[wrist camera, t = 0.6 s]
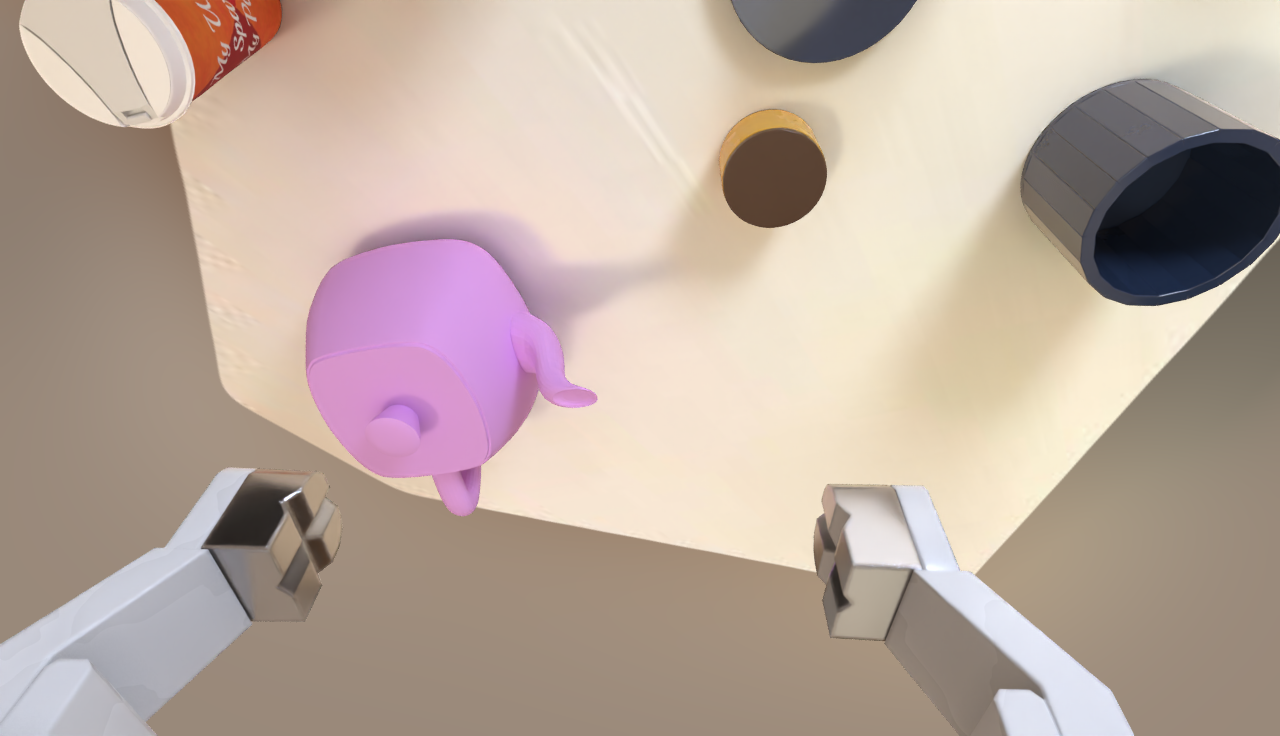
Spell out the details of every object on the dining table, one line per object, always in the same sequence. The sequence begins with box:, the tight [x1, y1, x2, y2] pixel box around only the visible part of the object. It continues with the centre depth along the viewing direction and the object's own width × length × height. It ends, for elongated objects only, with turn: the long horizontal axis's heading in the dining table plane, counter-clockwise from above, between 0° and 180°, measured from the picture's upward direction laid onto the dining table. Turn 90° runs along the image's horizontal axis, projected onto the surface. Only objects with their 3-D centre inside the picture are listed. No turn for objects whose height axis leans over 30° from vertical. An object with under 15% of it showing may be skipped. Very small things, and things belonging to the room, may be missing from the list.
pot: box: [1021, 79, 1280, 306], centre depth 46 cm, size 12×12×10 cm
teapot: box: [306, 239, 597, 516], centre depth 54 cm, size 23×21×15 cm
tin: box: [719, 110, 827, 228], centre depth 48 cm, size 7×7×4 cm
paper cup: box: [19, 0, 282, 128], centre depth 39 cm, size 8×8×14 cm
